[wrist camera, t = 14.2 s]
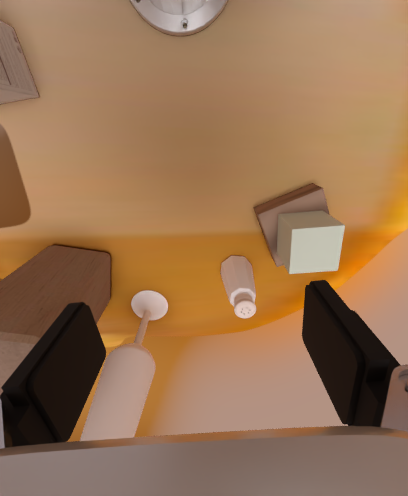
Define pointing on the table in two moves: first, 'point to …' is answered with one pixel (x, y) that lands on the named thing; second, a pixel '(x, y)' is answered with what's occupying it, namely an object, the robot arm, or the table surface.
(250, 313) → the pepper shaker
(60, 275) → the block
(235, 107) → the table surface
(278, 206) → the walnut block
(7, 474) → the robot arm
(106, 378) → the champagne flute
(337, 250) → the sage block
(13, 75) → the supplement box
